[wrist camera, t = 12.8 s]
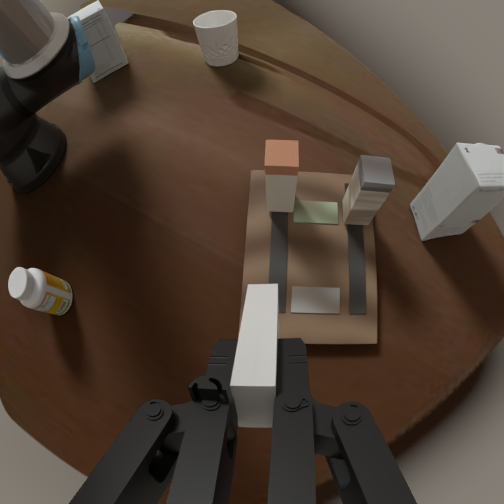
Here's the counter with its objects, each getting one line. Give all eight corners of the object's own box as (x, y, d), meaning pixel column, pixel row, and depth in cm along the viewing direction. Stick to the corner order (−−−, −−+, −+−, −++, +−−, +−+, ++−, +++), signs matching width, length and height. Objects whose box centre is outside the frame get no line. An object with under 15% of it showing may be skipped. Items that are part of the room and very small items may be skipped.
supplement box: (122, 49, 57) (100, -2, 41) (130, 63, 54) (105, 6, 38) (88, 68, 56) (61, 20, 40) (92, 84, 53) (61, 31, 37)
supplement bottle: (49, 280, 39) (7, 262, 30) (74, 279, 39) (32, 260, 29) (47, 315, 37) (2, 303, 28) (72, 316, 37) (27, 304, 28)
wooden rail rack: (373, 343, 33) (416, 338, 22) (239, 340, 35) (223, 336, 23) (365, 181, 40) (390, 127, 29) (252, 175, 41) (244, 117, 30)
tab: (293, 212, 37) (298, 166, 28) (267, 211, 37) (264, 165, 28) (293, 189, 38) (298, 140, 29) (268, 188, 38) (265, 139, 29)
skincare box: (420, 242, 37) (478, 190, 23) (407, 202, 39) (454, 140, 25) (463, 234, 37) (522, 186, 23) (450, 197, 39) (500, 142, 25)
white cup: (249, 57, 51) (245, 17, 41) (215, 73, 50) (207, 32, 40) (227, 44, 53) (221, 6, 43) (195, 58, 52) (185, 20, 42)
